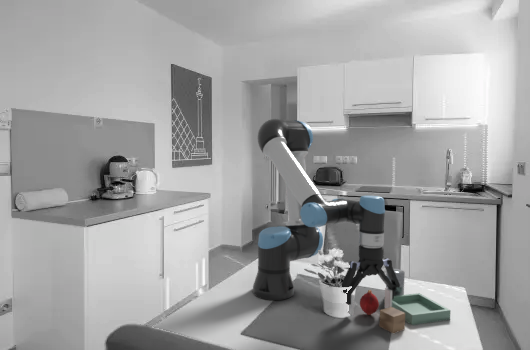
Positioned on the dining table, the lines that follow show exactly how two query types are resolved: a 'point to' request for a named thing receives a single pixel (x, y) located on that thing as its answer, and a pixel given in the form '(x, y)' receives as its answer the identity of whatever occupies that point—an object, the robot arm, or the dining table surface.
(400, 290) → the metal can
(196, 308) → the dining table surface
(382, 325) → the walnut block
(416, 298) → the tray
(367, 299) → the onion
